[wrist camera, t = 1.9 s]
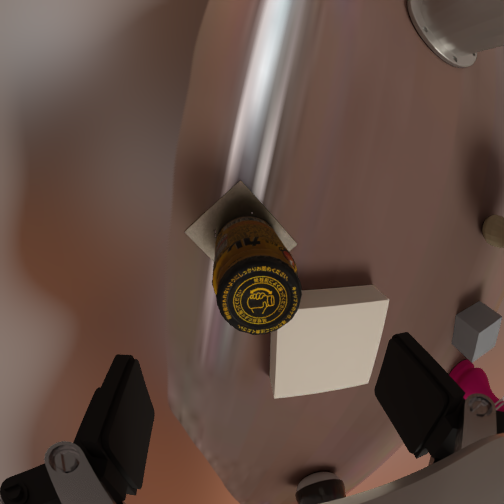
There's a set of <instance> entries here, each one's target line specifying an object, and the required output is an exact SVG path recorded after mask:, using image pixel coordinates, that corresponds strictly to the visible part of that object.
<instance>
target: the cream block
mask: <svg viewBox="0 0 504 504" xmlns="http://www.w3.org/2000/svg"><path fill="white" fill-rule="evenodd" d="M301 291H302V297H301V301H300V305H299V308H298V311H297V312H296V314H295V315H294V317H293V318H292V320H290V321H289V322H288V323H287V324H285V325H284V326H282V327H281V328H280V329H278V330H276V331H273V332H271V342H270V375H269V377H270V381H271V386H272V391H273V395H274V398H284V397H292V396H300V395H307V394H314V393H321V392H327V391H332V390H338V389H343V388H348V387H353V386H358V385H363V384H367V383H368V382H369V379H370V375H371V372H372V369H373V365H374V362H375V358H376V355H377V351H378V347H379V343H380V339H381V335H382V331H383V327H384V323H385V318H386V313H387V309H388V304H389V299H388V298H387V297H386V296H385V295H384V294H383V293H382V292H381V291H379V290H378V289H377V288H376V287H375V286H374V285H363V286H352V287H341V288H328V289H315V290H301Z"/></svg>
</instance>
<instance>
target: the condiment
mask: <svg viewBox="0 0 504 504" xmlns="http://www.w3.org/2000/svg"><path fill="white" fill-rule="evenodd" d="M251 212H253V214H251ZM214 230H216V233H214ZM185 233H186V234H187V235H188V236H189V237H190V238H191V239H192V240H193V241H194V242H195V243H196V244H197V245H198V246H199V247H200V248H201V249H202V250H203V251H204V252H205V253H206V255H208V256H209V257H210V258H211V259H212V260H213V261H214V266H213V267H214V268H213V280H212V285H213V288H214V292H215V294H216V298H217V305H218V307H219V310H220V313H221V315H222V316H223V317H224V319H225V320H226V321H227V322H228V323H229V324H230V325H231V326H233V327H234V328H235V329H237V330H239V331H242V332H246V333H250V334H252V335H259V334H266V333H270V332H273V331H276V330H278V329H280V328H281V327H282V326H284V325H285V324H287V323H288V322H289V321H290V320H292V318H293V317H294V315H295V314H296V312H297V311H298V308H299V305H300V301H301V297H302V291H301V284H300V281H299V278H298V276H297V274H298V273H297V268H296V264H295V261H294V259H293V258H292V256H291V254H290V252H289V251H290V250H291V249H293V248H294V247H295V246H296V245H297V244H296V242H295V241H294V240H293V239H292V238H291V237H290V235H289V234H288V233H287V232H286V231H285V230H284V229H283V227H282V226H281V225H280V224H279V223H278V222H277V221H276V219H275V218H274V217H273V216H272V215H271V214H270V212H269V211H268V210H267V209H266V208H265V207H264V206H263V205H262V204H261V202H260V201H259V200H258V199H257V198H256V197H255V196H254V195H253V194H252V192H251V191H250V190H249V189H248V188H247V187H246V186H245V185H244V184H243V182H242V181H239V182H238V183H237V184H236V185H235V186H234V187H233V188H231V189H230V190H229V191H228V192H227V193H226V194H225V195H224V196H223V197H221V198H220V199H219V200H218V201H217V202H216V203H215V204H214V205H213V206H212V207H211V208H209V209H208V211H206V212H205V213H204V214H203V215H202V216H201V217H200V218H199V219H198V220H197V221H196V222H195V223H194V224H192V225H191V226H190V227H189V228H188V229H187V230H186V231H185ZM215 234H216V237H215Z"/></svg>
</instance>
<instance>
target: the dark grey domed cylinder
mask: <svg viewBox="0 0 504 504" xmlns="http://www.w3.org/2000/svg"><path fill="white" fill-rule="evenodd" d="M295 496H296V500H297V502H298V504H320V503H325V502H329V501H333V500H337V499H341V498H344V497H346V492H345V486H344V483H343V481H342V480H340V479H339V477H338V476H337V475H335V474H333V473H330V472H317V473H314V474H311V475H309V476H307V477H305V478H304V479H303V480H301V482H300V483H299V485H298V487H297V492H296V494H295Z"/></svg>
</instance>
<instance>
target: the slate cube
mask: <svg viewBox="0 0 504 504" xmlns="http://www.w3.org/2000/svg"><path fill="white" fill-rule="evenodd" d="M501 320H502V316H501V315H499V314H498V313H496V312H495V311H494V310H492V309H491V308H489V307H488V306H486V305H485V304H483V303H482V302H480V301H478V302H477V303H475V304H474V305H472V306H470V307H469V308H467V309H465V310H464V311H462V312H460V313H458V314H457V315H456V319H455V326H454V333H453V339H452V344H453V345H454V346H455V347H456V348H457V349H458V350H459V351H460V352H461V353H462V354H463V355H464V356H465V357H466V358H467V359H468V360H469V361H470V362H471V363H472V362H474V361H475V360H477V359H478V358H479V357H481V356H482V355H484V354H485V353H486V352H488V351H489V350H490V349H492V348H493V347H494V346H495V343H496V340H497V336H498V333H499V328H500V324H501Z"/></svg>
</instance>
